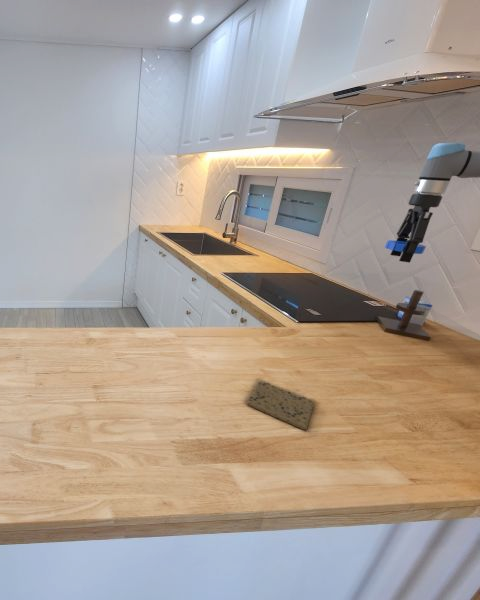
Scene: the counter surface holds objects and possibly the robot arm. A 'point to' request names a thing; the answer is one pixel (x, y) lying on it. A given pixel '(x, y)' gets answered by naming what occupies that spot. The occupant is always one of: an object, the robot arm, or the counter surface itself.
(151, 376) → the counter surface
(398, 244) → the blue plastic ring
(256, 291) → the counter surface
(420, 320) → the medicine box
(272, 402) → the cookie
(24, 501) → the counter surface
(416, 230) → the robot arm
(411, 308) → the stand
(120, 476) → the counter surface
